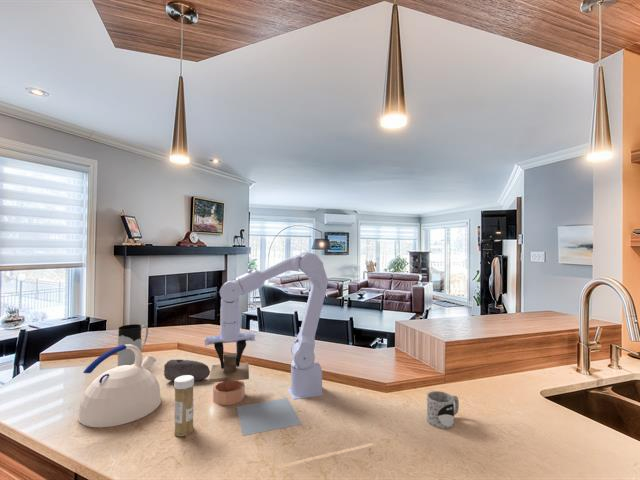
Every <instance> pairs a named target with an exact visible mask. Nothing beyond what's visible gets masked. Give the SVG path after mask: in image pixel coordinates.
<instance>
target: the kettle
mask: <svg viewBox="0 0 640 480" xmlns="http://www.w3.org/2000/svg"><path fill="white" fill-rule="evenodd" d="M124 349H131V350H132V351H133V352H134V354H135V362H134V364H132V365H123V366H118V367H117V366H115V367H114V368H110V369H108V370H105V372H102V373H101V374H99V376H98V377H96V378H95V379H94V380H92V382H91V384H89V386H88V387H87V388H86V389H85V392H84V394H83V396H82V398H81V400H80V402H79V409H78V410H79V412H78V417H77V419H78V421H79V423H80V424H82V425H83V426H85V427H90V428H101V429H102V428H111V427H116V426H117V427H118V426H121V425H125V424H129V423H132V422H135V421H137V420H140V419H142V418H144V417H147V416H149V414H151V413H154V411H155V410H157V409H158V407H160V406H161V403H162V397H161V388H160V387H161V386H160V383H159V381H158V379H157V377H156V376H155V375H154V374H153V373H151V372H150V370H151V368H152V367H153V366H154V364H155V362H157V358H156V357H154V356H153V355H152V354H146V357H144V359H143V353H142V350H141V351H140V350H139V348H138V347H136V346H134V345H131V344H128V345H121V346H118V345H117V346H116V347H114V348H112V349H110V350H108V351H106V352H104V353H103V354H100V356H98V357H97V358H96V359H94V360H93V361H92V362H91V363H89V365H88V366H87V367H86V368H85V369H84V371H83V373H84V374H92V373H93V371H94V370H95V369H96V368H97V367H98V366H99V365H100V364H101V363H102V362H104V361H105V360H107V359H108V358H110V357H111V356H113V355H115V354H118V352H119V351H122V350H124Z"/></svg>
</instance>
